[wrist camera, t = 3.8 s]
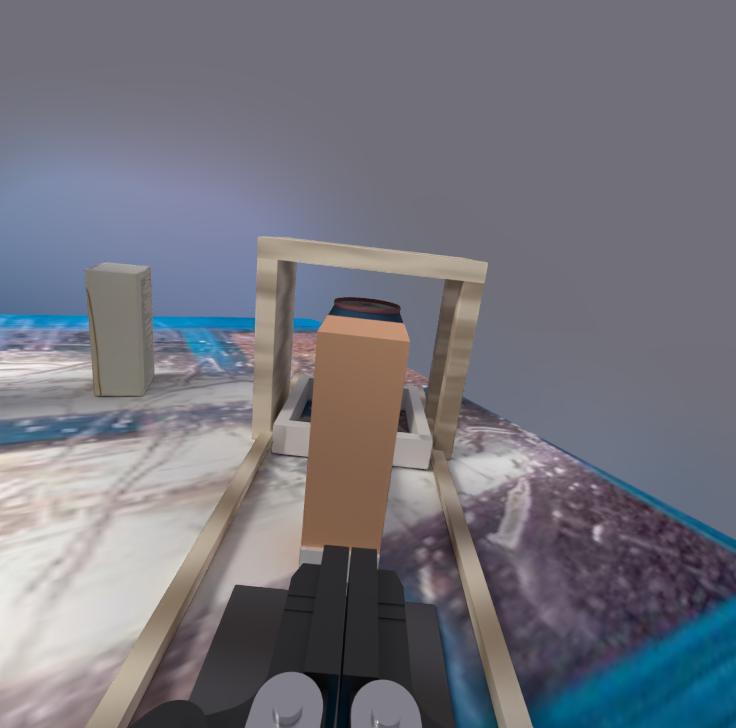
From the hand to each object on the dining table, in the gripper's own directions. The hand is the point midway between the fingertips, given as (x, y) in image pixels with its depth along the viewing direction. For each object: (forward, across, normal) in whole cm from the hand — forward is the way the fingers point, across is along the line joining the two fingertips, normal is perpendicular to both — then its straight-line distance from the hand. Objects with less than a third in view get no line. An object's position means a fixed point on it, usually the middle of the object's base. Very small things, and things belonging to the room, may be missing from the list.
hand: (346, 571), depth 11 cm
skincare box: (+30, +24, +8) cm, 39 cm away
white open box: (+20, 0, +8) cm, 21 cm away
